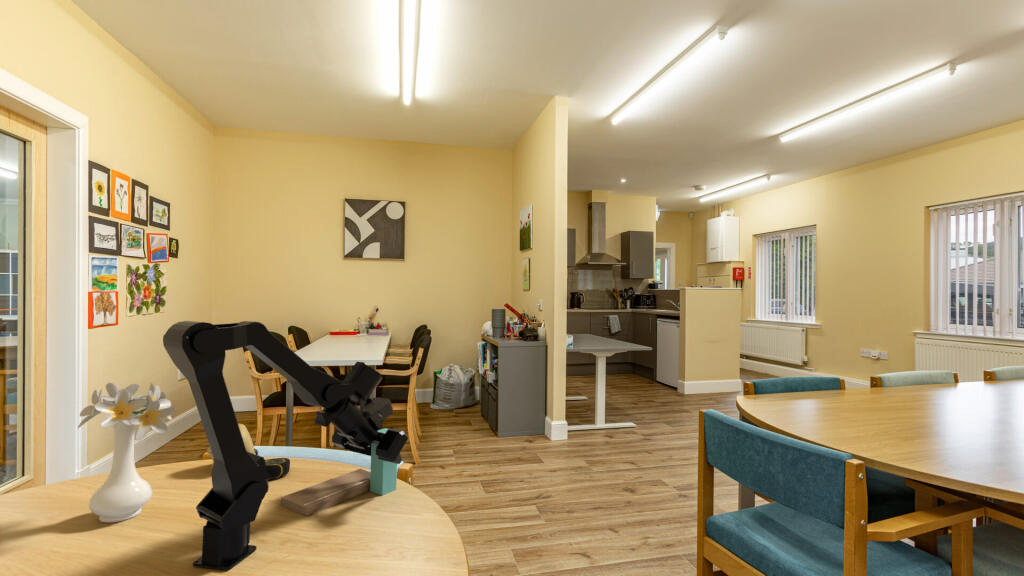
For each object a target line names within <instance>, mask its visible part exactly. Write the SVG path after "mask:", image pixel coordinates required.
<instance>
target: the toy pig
mask: <svg viewBox="0 0 1024 576" xmlns="http://www.w3.org/2000/svg"><path fill="white" fill-rule="evenodd" d="M238 425H239V428H240V431H241V435H242V438H243V441H244V444H245V447H246V450H247V452H250V453H253V454H255V455H258V454H259V450H258V449H256V448H255V446H254V443H253V441H252V437H251V435H250V432H249V430H248V428H247V426H246V425H244V424H242V423H238ZM208 445H209V444H208ZM206 453H207V454H209V456H210V458H211V460H212V464H211V467H212V468H213V464H214V457H213V454H212V451H211V448H210V445H209V446H208V448H207V449H206ZM258 456H259V455H258Z"/></svg>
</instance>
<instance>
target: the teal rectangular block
mask: <svg viewBox="0 0 1024 576" xmlns="http://www.w3.org/2000/svg"><path fill="white" fill-rule="evenodd" d="M388 429H389V428H386V427H385V428H381V430H378V432H381V433H386V431H387V430H388ZM377 445H378V444H375V443H372V444H371V456H370V468H369V469H367V470H366V469H365V470H366V478H369V479H370V490H369V492H370V493H373V494H377V495H378V496H379V495H380V496H385V495H387V494H389V493H391V492H393V491H396V490H397V475H398V474H397V473H398V472H397V471H398V469H397V468H398V467H397V466H398V464H396V463H392V462H388V461H384V460H380V459H378V456H377V455H376V447H377Z"/></svg>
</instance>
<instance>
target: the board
mask: <svg viewBox="0 0 1024 576" xmlns="http://www.w3.org/2000/svg"><path fill="white" fill-rule="evenodd" d="M368 491H369V492H370V479H369V478H366V469H362V468H359V469H355V470H352V471H350V472H347V473H345V474H340V475H339V476H337V477H334V478H331V479H330V478H329V479H327V480H325V481H322V482H319V483H317V484H313V485H311V486H308V487H305V488H302V489H300V490H297V491H294V492H291V493H289V494H285V495H283V496H281V497H280V506H282V507H285V508H287V509H289V510H292V511H294V512H296V513H298V514H300V515H303V516H306V517H308V516H312V515H313V514H316V513H318V512H321V511H323V510H325V509H327V508H330V507H333V506H334V505H338V504H339V503H343V502H345V501H346V500H349V499H351V498H354V497H356V496H359V495H361V494H364V493H366V492H368Z"/></svg>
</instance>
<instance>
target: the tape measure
mask: <svg viewBox="0 0 1024 576" xmlns="http://www.w3.org/2000/svg"><path fill="white" fill-rule="evenodd" d="M264 460H265V463H266V471H267V473H268V475H269V476H270V477H271V478H274V479H278V478H277V477H279V478H281V477H284V476H286V475H288V473H289V472H290V468H291V460H290V459H289V458H287V457H276V458H275V457H274V458H268V459H264Z"/></svg>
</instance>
